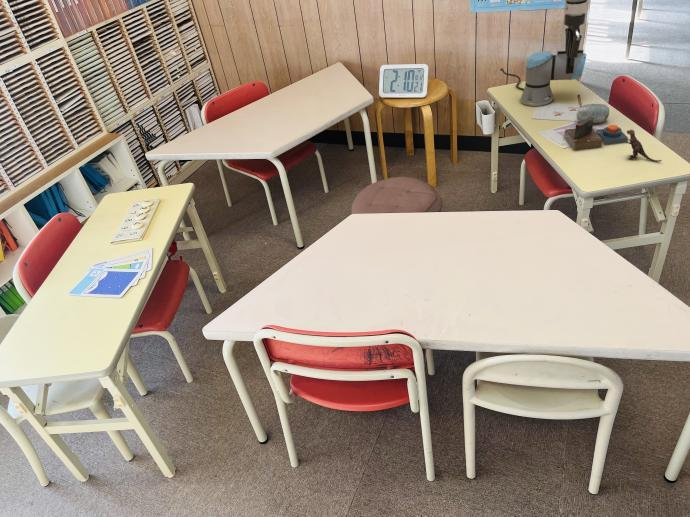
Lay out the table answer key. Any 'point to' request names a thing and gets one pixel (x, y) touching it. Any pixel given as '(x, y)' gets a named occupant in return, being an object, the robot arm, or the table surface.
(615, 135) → the buzzer
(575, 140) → the dial console
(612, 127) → the button
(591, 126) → the pointer
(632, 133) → the dinosaur model
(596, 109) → the grey striped ovoid
